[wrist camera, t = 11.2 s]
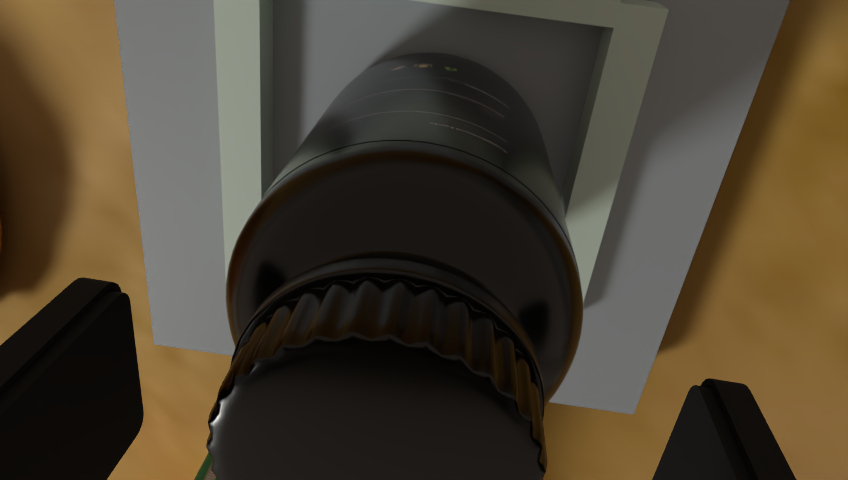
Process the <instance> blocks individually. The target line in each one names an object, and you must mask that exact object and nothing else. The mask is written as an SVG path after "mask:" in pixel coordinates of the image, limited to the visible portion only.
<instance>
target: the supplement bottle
mask: <svg viewBox="0 0 848 480" xmlns="http://www.w3.org/2000/svg"><path fill="white" fill-rule="evenodd" d="M226 309H227V317H228V322H229V327H230V332H231V336H232V339H233V342H234V345H235V350H234V353H233V357H232V361H231V367H230V370H229V372H228V373H227V375H226V377H225V379H224V381H223V383H222V385H221V387H220V389H219V392H218V397H217V400H216V402H215V404H214V406H213V408H212V410H211V412H210V415H209V420H208V425H209V430H210V434H209V437H208V440H207V445H206V447H207V449H208V451H209V453H210V455H211V457H212V459H213V461H212V467H211V471H212V472H213V473H214V475H215V476H216V477H217V478H218V480H543V477H544V474H545V472H546V468H547V454H546V445H545V437H544V429H543V416H544V406H545V405H546V404H547V403H548V402H549V400H550V399H551V398H552V397H553V395H554V394H555V393H556V391H557V390H558V388H559V387H560V385H561V384H562V382H563V380H564V379H565V377H566V375H567V373H568V371H569V369H570V367H571V365H572V363H573V360H574V357H575V355H576V352H577V349H578V345H579V341H580V337H581V332H582V323H583V296H582V288H581V281H580V275H579V270H578V266H577V262H576V258H575V254H574V250H573V247H572V243H571V239H570V235H569V232H568V228H567V224H566V221H565V217H564V213H563V210H562V206H561V202H560V199H559V195H558V191H557V188H556V184H555V180H554V176H553V173H552V169H551V165H550V162H549V158H548V154H547V151H546V147H545V143H544V141H543V138H542V135H541V132H540V129H539V126H538V124H537V122H536V120H535V118H534V116H533V114H532V112H531V110H530V109H529V107H528V105H527V104H526V102H525V101H524V100H523V98H522V97H521V96H520V95H519V93H518V92H517V91H516V90H515V89H514V88H513V87H512V86H511V85H510V84H509V83H508V82H507V81H505V80H504V79H503V78H502V77H501V76H499V75H498V74H496V73H495V72H493V71H492V70H490V69H488V68H487V67H485V66H483V65H481V64H479V63H476V62H474V61H472V60H469V59H466V58H463V57H459V56H455V55H450V54H444V53H433V52H431V53H413V54H406V55H402V56H397V57H394V58H391V59H388V60H385V61H383V62H381V63H379V64H376V65H374V66H373V67H371V68H369V69H367V70H366V71H364V72H363V73H361V74H360V75H359V76H357V77H356V78H355V79H353V80H352V81H351V82H350V83H349V84H348V85H347V86H346V87H345V88H344V89H343V90H342V91H341V92H340V93H339V94H338V96H337V97H336V98H335V99H334V101H333V102H332V103H331V104H330V106H329V107H328V108H327V110H326V111H325V112H324V114H323V115H322V116H321V118H320V119H319V121H318V122H317V123H316V125H315V126H314V127H313V129H312V130H311V131H310V133H309V134H308V136H307V137H306V138H305V140H304V141H303V142H302V144H301V145H300V147H299V148H298V149H297V151H296V152H295V153H294V155H293V156H292V157H291V159H290V160H289V162H288V163H287V164H286V166H285V167H284V168H283V170H282V171H281V172H280V174H279V175H278V177H277V178H276V179H275V181H274V182H273V183H272V185H271V186H270V188H269V189H268V190H267V192H266V193H265V194H264V197H262V199H261V201H260V202H259V204H258V205H257V206H256V208H255V209H254V211H253V212H252V214H251V215H250V216H249V218H248V220H247V222H246V223H245V225H244V227H243V229H242V231H241V233H240V234H239V236H238V239H237V241H236V244H235V246H234V248H233V251H232V255H231V259H230V262H229V266H228V272H227V279H226Z"/></svg>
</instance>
